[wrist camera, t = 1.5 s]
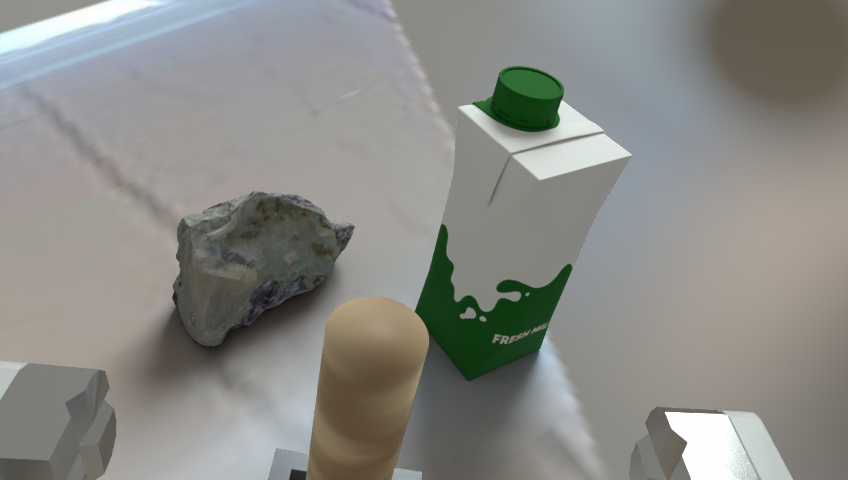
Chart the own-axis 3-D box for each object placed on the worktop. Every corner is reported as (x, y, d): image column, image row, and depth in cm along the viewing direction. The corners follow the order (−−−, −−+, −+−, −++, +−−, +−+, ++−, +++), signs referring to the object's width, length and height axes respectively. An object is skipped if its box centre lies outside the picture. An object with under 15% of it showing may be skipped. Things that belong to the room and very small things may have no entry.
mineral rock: (346, 250, 57) (360, 148, 51) (362, 351, 49) (381, 246, 43) (180, 249, 54) (173, 139, 47) (169, 357, 46) (159, 244, 39)
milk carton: (486, 278, 57) (559, 55, 45) (557, 355, 52) (663, 128, 39) (397, 309, 53) (449, 71, 40) (465, 397, 48) (551, 156, 35)
